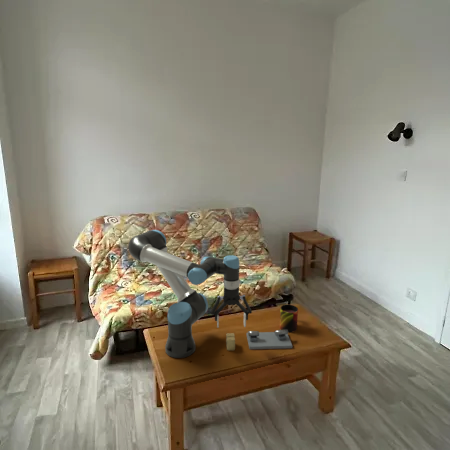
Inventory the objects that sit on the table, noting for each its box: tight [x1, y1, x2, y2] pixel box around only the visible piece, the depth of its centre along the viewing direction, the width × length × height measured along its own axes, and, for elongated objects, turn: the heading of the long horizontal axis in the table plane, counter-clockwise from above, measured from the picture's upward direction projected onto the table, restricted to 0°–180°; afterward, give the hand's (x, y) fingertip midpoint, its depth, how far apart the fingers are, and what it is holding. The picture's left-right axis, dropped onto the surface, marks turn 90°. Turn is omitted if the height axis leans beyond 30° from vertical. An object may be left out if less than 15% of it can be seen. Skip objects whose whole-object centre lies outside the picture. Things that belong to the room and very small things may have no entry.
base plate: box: [246, 331, 293, 350], centre depth 181 cm, size 22×13×2 cm, turn 93°
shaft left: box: [247, 330, 259, 342], centre depth 180 cm, size 6×4×5 cm
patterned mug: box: [279, 303, 299, 333], centre depth 195 cm, size 10×14×12 cm
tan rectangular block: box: [225, 332, 236, 351], centre depth 176 cm, size 6×4×6 cm
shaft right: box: [274, 329, 289, 341], centre depth 182 cm, size 7×4×5 cm
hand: (231, 326), depth 174 cm, fingers open, 13 cm apart
